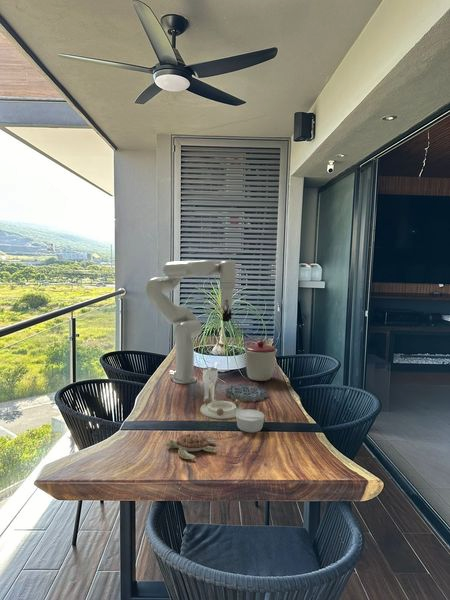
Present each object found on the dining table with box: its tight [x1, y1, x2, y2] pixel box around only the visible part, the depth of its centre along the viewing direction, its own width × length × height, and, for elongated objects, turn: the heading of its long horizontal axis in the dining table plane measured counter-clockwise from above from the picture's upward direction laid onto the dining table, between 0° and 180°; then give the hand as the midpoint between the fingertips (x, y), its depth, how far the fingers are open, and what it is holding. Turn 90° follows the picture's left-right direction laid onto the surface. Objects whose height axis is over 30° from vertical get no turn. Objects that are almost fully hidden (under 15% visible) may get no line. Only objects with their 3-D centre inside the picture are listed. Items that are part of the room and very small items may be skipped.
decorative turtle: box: [166, 433, 217, 460], centre depth 134 cm, size 18×17×5 cm
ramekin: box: [235, 408, 265, 433], centre depth 152 cm, size 11×11×5 cm
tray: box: [199, 398, 244, 420], centre depth 168 cm, size 18×18×4 cm
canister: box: [243, 340, 278, 382], centre depth 216 cm, size 18×18×21 cm
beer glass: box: [202, 366, 219, 403], centre depth 179 cm, size 7×7×15 cm
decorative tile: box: [225, 384, 269, 403], centre depth 189 cm, size 20×20×2 cm
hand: (227, 320), depth 196 cm, fingers open, 9 cm apart
